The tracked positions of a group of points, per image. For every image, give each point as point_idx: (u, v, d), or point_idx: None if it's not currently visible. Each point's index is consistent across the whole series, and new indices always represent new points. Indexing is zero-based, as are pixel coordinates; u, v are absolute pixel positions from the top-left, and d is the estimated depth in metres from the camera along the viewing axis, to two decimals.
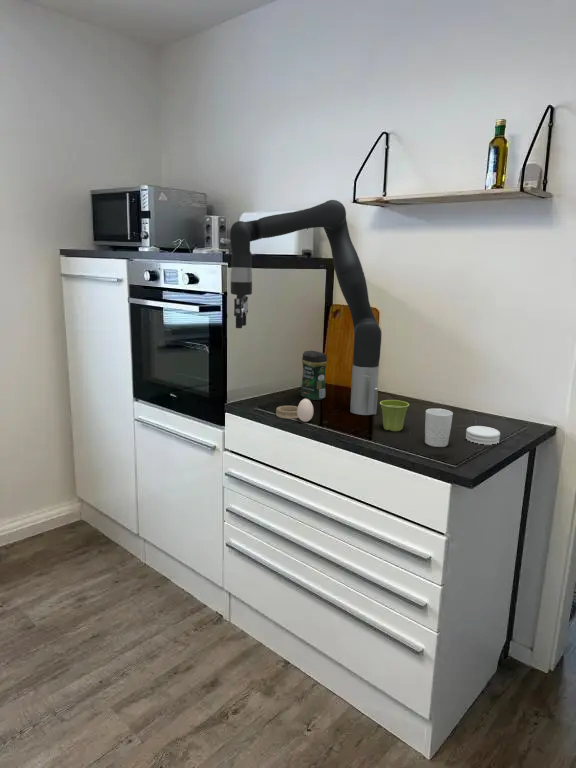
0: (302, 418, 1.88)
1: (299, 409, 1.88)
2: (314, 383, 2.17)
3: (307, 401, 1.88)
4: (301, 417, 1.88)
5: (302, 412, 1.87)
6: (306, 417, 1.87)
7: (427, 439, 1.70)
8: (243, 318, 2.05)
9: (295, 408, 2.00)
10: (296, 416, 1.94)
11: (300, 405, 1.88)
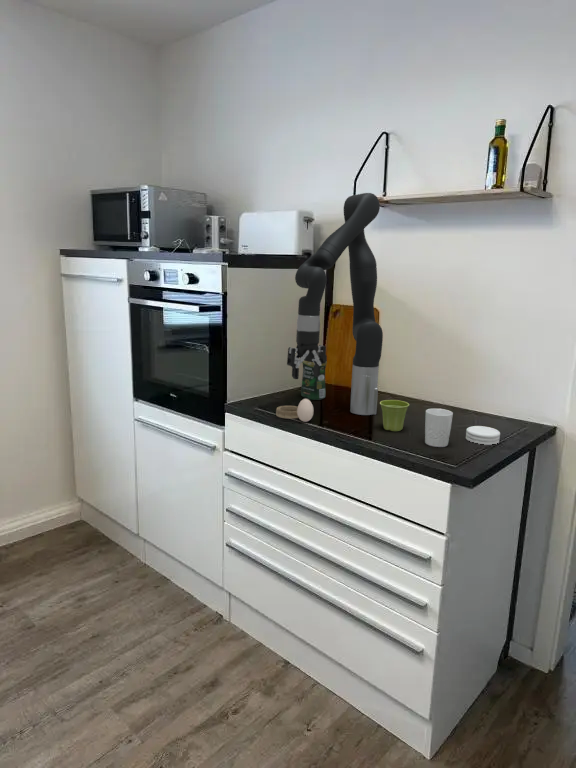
0: (302, 418, 1.88)
1: (299, 409, 1.88)
2: (314, 383, 2.17)
3: (307, 401, 1.88)
4: (301, 417, 1.88)
5: (302, 412, 1.87)
6: (306, 417, 1.87)
7: (427, 439, 1.70)
8: None
9: (295, 408, 2.00)
10: (296, 416, 1.94)
11: (300, 405, 1.88)
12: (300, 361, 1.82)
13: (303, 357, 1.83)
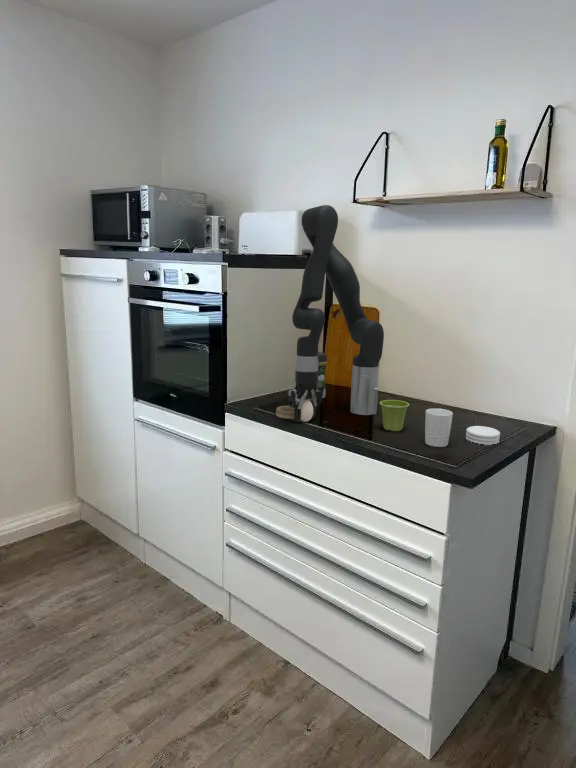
0: (302, 418, 1.88)
1: None
2: None
3: (307, 401, 1.88)
4: (301, 417, 1.88)
5: (302, 412, 1.87)
6: (306, 417, 1.87)
7: (427, 439, 1.70)
8: None
9: None
10: None
11: None
12: (301, 402, 1.86)
13: (303, 397, 1.86)
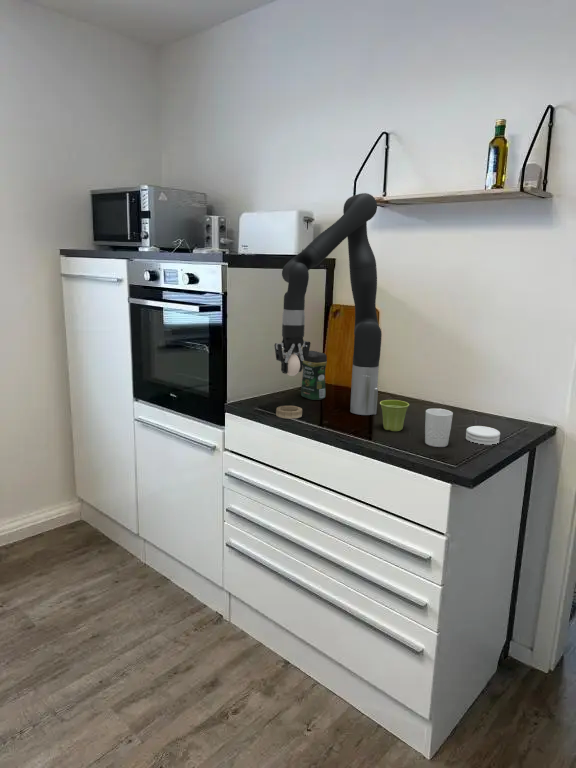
0: (289, 372, 1.91)
1: None
2: (314, 383, 2.17)
3: (294, 355, 1.91)
4: (288, 371, 1.91)
5: (289, 366, 1.90)
6: (293, 371, 1.91)
7: (427, 439, 1.70)
8: None
9: (295, 408, 2.00)
10: (296, 416, 1.94)
11: None
12: (288, 355, 1.89)
13: (290, 351, 1.89)
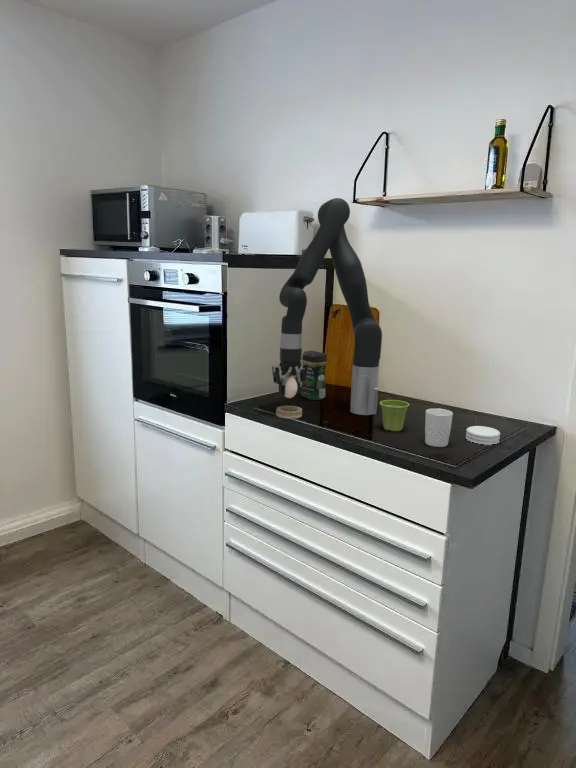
0: (286, 394, 1.94)
1: None
2: (314, 383, 2.17)
3: (291, 378, 1.94)
4: (285, 393, 1.94)
5: (286, 388, 1.93)
6: (290, 393, 1.94)
7: (427, 439, 1.70)
8: None
9: (295, 408, 2.00)
10: (296, 416, 1.94)
11: None
12: (285, 378, 1.92)
13: (287, 374, 1.92)
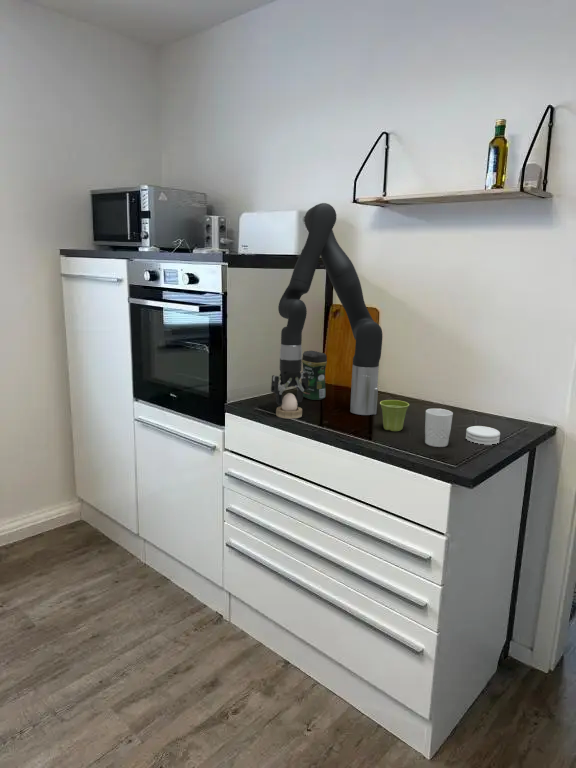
0: None
1: (283, 403, 1.95)
2: (314, 383, 2.17)
3: (291, 395, 1.95)
4: None
5: (286, 406, 1.94)
6: (290, 410, 1.95)
7: (427, 439, 1.70)
8: None
9: None
10: (296, 416, 1.94)
11: (284, 399, 1.95)
12: (284, 388, 1.92)
13: (286, 384, 1.92)
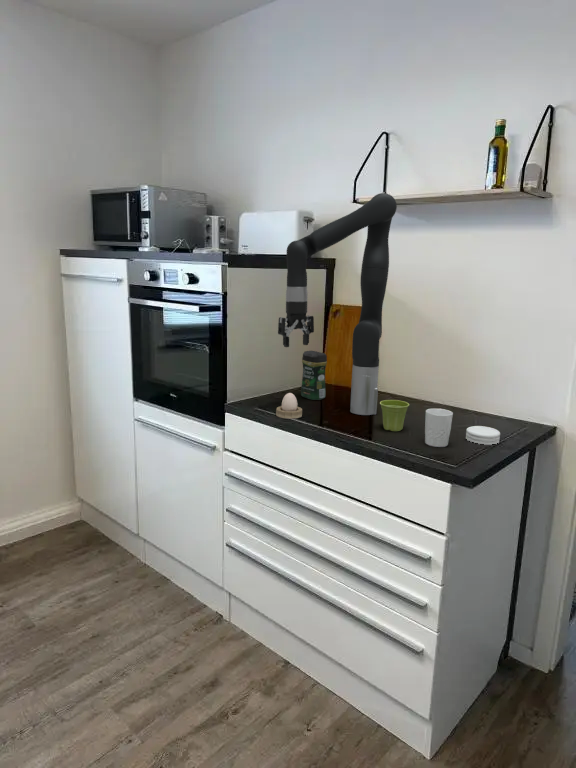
0: None
1: (283, 403, 1.95)
2: (314, 383, 2.17)
3: (291, 395, 1.95)
4: None
5: (286, 406, 1.94)
6: (290, 410, 1.95)
7: (427, 439, 1.70)
8: None
9: None
10: (296, 416, 1.94)
11: (284, 399, 1.95)
12: (290, 330, 1.95)
13: (293, 326, 1.96)
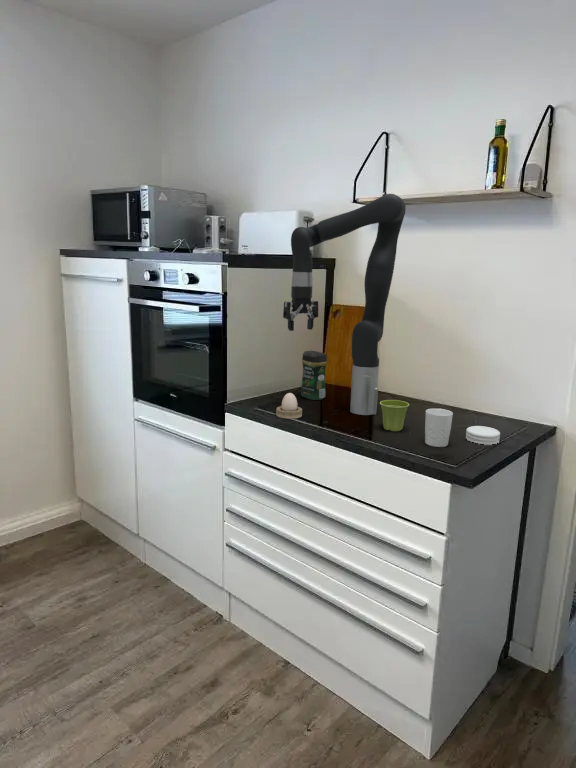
0: None
1: (283, 403, 1.95)
2: (314, 383, 2.17)
3: (291, 395, 1.95)
4: None
5: (286, 406, 1.94)
6: (290, 411, 1.95)
7: (427, 439, 1.70)
8: None
9: None
10: (296, 416, 1.94)
11: (284, 399, 1.95)
12: (295, 314, 2.01)
13: (297, 310, 2.01)
